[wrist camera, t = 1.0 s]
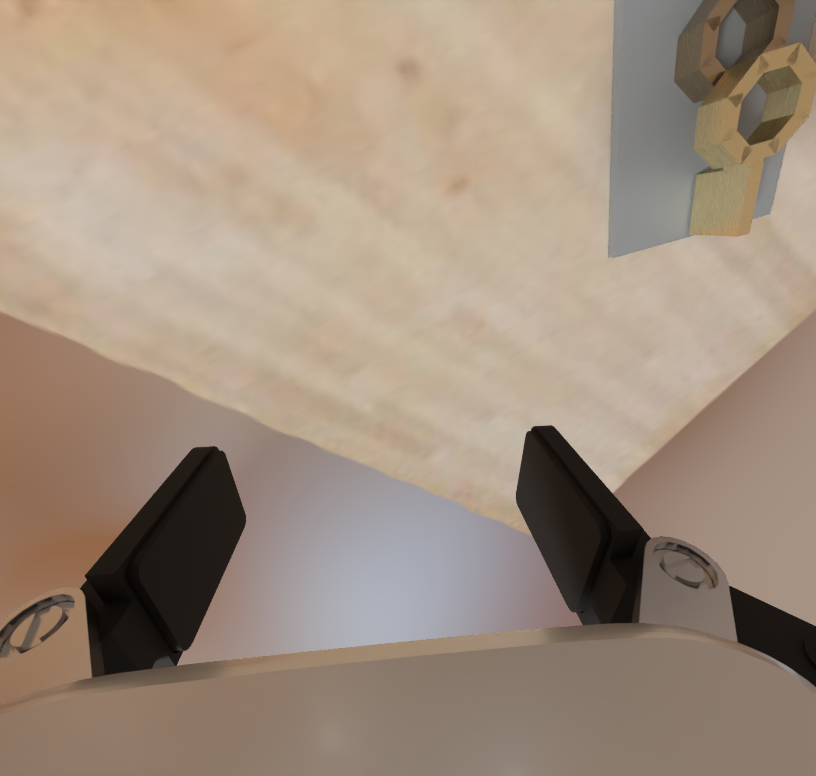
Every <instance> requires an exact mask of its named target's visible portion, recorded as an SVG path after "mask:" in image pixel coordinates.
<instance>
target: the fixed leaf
mask: <svg viewBox="0 0 816 776" xmlns="http://www.w3.org/2000/svg"><path fill="white" fill-rule="evenodd" d="M794 5H795V0H703V1H702V3H701V4H700V6H699V7H698V9H697V10H696V12H695V13H694V15H693V16H692V18H691V19H690V21H689V22H688V23H687V25H686V26H685V28H684V29H683V31H682V32H681V34H680V35H679V37H678V42H677V52H676V63H675V74H674V82H675V83H676V84H677V86H678V87H679V88H680V89H681V90H682V91H683V92H684V93H685V94H686V96H687V97H688V98H689V99H690V100H691V101H692V102H693V103H697V102H701V101H704V100H705V98H706V97H707V96H708V94H709V93H710V92H711V90H712V89H713V88H714V86H715V85H716V84H717V82H718V81H719V80H720V78H721V77H722V76H723V74H724V73H725V72H726V69H725V68H724V67H723V66H722V64H721V63H720V62H719V61H718V60H717V58H716V57H715V54H716V47H717V39H718V32H719V25H720V23H721V22H722V20H723V19H724V17H725V16H726V15H727V13H728V12H729V10H730V9H731V8H732V7H734V9H735V10H736V11H737V13H738V14H739V15H740V17H741V18H742V19H743V21H744V22H745V23H746V28H745V34H744V40H743V47H742V53H741V55H740V56H739V58H738V59H737V60H736V62H735V63H734V64H733V66H735V65H737V64H740V63H742V62H744V61H746V60H749V59H751V58H753V57H755V56H758V55H760V54H763V53H766V52H770V51H773V50H776V49H780V48H783V47H784V46H785V44H786V43H787V39H788V34H789V29H790V25H791V20H792V15H793V10H794ZM733 66H732V67H733Z"/></svg>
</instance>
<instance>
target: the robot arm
mask: <svg viewBox="0 0 816 776" xmlns="http://www.w3.org/2000/svg"><path fill="white" fill-rule="evenodd" d="M516 502H517V505H518V507H519V509H520V511H521V513H522V515H523V517H524V520H525V522H526V524H527V526H528V528H529V530H530V532H531V534H532V536H533V538H534V540H535V542H536V543H537V546H538V548H539V550H540V551H541V553H542V556H543V558H544V560H545V562H546V564H547V566H548V568H549V570H550V572H551V574H552V576H553V578H554V580H555V582H556V584H557V586H558V588H559V590H560V592H561V594H562V596H563V598H564V600H565V602H566V604H567V606H568V608H569V609H570V610H571V611H572V612H576V613H577V615H578V617H579V618H580V620H581V623H582V624H583V625H582V626H570V627H556V628H543V629H533V630H522V631H511V632H501V633H490V634H479V635H469V636H458V637H448V638H437V639H427V640H418V641H408V642H397V643H387V644H378V645H367V646H358V647H348V648H338V649H328V650H318V651H309V652H299V653H291V654H281V655H271V656H262V657H252V658H243V659H233V660H224V661H214V662H205V663H196V664H188V665H181V666H177V663H178V661H179V659H180V657H181V655H182V653H183V651H186V650H187V649H188V648H189V647H190V646H191V644H192V643H193V641H194V638H195V636H196V634H197V632H198V630H199V627H200V625H201V623H202V621H203V618H204V616H205V614H206V612H207V610H208V607H209V605H210V603H211V601H212V598H213V596H214V594H215V592H216V589H217V587H218V585H219V583H220V580H221V578H222V576H223V574H224V572H225V570H226V567H227V565H228V563H229V560H230V558H231V556H232V554H233V552H234V550H235V547H236V545H237V543H238V541H239V539H240V536H241V534H242V532H243V529H244V527H245V524H246V515H245V511H244V509H243V506H242V503H241V500H240V497H239V494H238V491H237V488H236V485H235V482H234V479H233V476H232V473H231V470H230V467H229V464H228V461H227V458H226V455H225V453H224V452H223V451H219V449H218V448H217V447H215V446H212V447H196V448H193V449H192V450H191V451H190V452H189V453H188V454H187V456H186V457H185V458H184V459H183V460H182V461H181V463H180V464H179V465H178V466H177V468H176V469H175V470H174V471H173V472H172V473H171V474H170V476H169V477H168V478H167V479H166V480H165V482H164V483H163V484H162V485H161V486H160V487H159V489H158V490H157V491H156V492H155V493H154V495H153V496H152V497H151V498H150V499H149V501H148V502H147V503H146V504H145V505H144V506H143V508H142V509H141V510H140V511H139V512H138V514H137V515H136V516H135V517H134V518H133V519H132V521H131V522H130V523H129V524H128V525H127V526H126V528H125V529H124V530H123V531H122V532H121V534H120V535H119V536H118V537H117V538H116V539H115V541H114V542H113V543H112V544H111V545H110V547H109V548H108V549H107V550H106V551H105V552H104V554H103V555H102V556H101V557H100V558H99V560H98V561H97V562H96V563H95V564H94V565H93V567H92V568H91V569H90V570H89V571H88V573H87V574H86V575H85V577H86V579H87V581H86V582H85V583H84V584H83V586H82V587H81V588H80V589H78V588H76V587H64V588H60V589H57V590H52V591H49V592H47V593H45V594H43V595H40V596H38V597H36V598H34V599H32V600H31V601H29V602H28V603H26V604H24V605H22V606H21V607H19V608H18V609H17V610H16V611H14V612H13V613H12V614H10V615H9V616H7V617H6V618H5V619H4V620H3V621H2V622H1V623H0V776H816V626H814V625H812V624H810V623H808V622H805V621H803V620H801V619H799V618H797V617H795V616H793V615H791V614H788V613H786V612H784V611H782V610H780V609H778V608H776V607H774V606H771V605H769V604H767V603H765V602H763V601H761V600H759V599H757V598H755V597H752V596H750V595H748V594H746V593H744V592H742V591H739V590H738V589H735V588H733V587H731V586H729V584H728V581H727V578H726V575H725V573H724V572H723V570H722V569H721V568H720V567H719V565H718V564H717V563H716V562H715V561H714V560H713V559H712V558H710V557H709V556H708V555H707V554H706V553H704V552H703V551H701V550H700V549H698V548H697V547H695V546H693V545H691V544H689V543H687V542H685V541H682V540H678V539H675V538H671V537H662V536H661V537H655V538H652V539H651V538H650V537H649V536H648V535H647V533H646V532H645V531H644V529H643V528H642V527H641V526H640V524H639V523H638V522H637V521H636V520H635V519H634V518H633V516H632V515H631V514H630V513H629V512H628V511H627V510H626V508H625V507H624V506H623V505H622V504H621V503H620V502H619V501H618V499H617V498H616V497H615V496H614V495H613V494H612V492H611V491H610V490H609V489H608V488H607V487H606V486H605V484H604V483H603V482H602V481H601V480H600V479H599V478H598V476H597V475H596V474H595V473H594V472H593V471H592V470H591V468H590V467H589V466H588V465H587V464H586V463H585V462H584V460H583V459H582V458H581V457H580V456H579V455H578V454H577V452H576V451H575V450H574V449H573V448H572V447H571V446H570V444H569V443H568V442H567V441H566V440H565V439H564V438H563V436H562V435H561V434H560V433H559V432H558V431H557V430H556V428H555V427H553V426H551V425H549V426H534V427H533V428H532V429H531V431H528V432H527V433H526V437H525V443H524V449H523V455H522V461H521V467H520V473H519V479H518V485H517V491H516Z"/></svg>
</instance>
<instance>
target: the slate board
mask: <svg viewBox="0 0 816 776" xmlns="http://www.w3.org/2000/svg"><path fill="white" fill-rule="evenodd" d="M702 1H703V0H615V9H614V49H613V88H612V127H611V166H610V206H609V245H608V257H614V258H615V257H618V256H622V255H625V254H629V253H633V252H636V251H640V250H643V249H647V248H650V247H654V246H658V245H661V244H665V243H668V242H672V241H675V240H679V239H682V238H686V237H690V236H693V235H689V229H690V222H691V214H692V206H693V199H694V191H695V183H696V175H698V174H701V173H705V172H708V171H714V170H721V169H723V168H717V169H712V168H711V167H710V166H709V165H708V164H707V163H706V162H705V161H704V159H703V158H702V157H701V156H700V155H699V154H698V153H697V152H696V151H695V150H694V149H693V147H694V139H695V131H696V123H697V115H698V108H699V106H700V105H701V104H702V102H703V101H701V102H697V103H693V102H692V101H691V100H690V99H689V98H688V97H687V96H686V94H685V93H684V92H683V91H682V90H681V89H680V88H679V87H678V86H677V84H676V83H675V82H674V74H675V63H676V52H677V42H678V37H679V35H680V34H681V32H682V31H683V29H684V28H685V26H686V25H687V23H688V22H689V21H690V19H691V18H692V16H693V15H694V13H695V12H696V10H697V9H698V7H699V6H700V4H701V3H702ZM815 16H816V0H795V5H794V10H793V15H792V20H791V25H790V29H789V34H788V39H787V43H786V44H785V46H784V47H786V46H789V45H793V44H796V43H799V42H801V43H802V44H803V46H804V47H805V49H806V50H807V51H808V46H809V42H810V38H811V33H812V29H813V24H814V20H815ZM745 28H746V23H745V22H744V21H743V19H742V18H741V17H740V15H739V14H738V13H737V11H736V10H735V9H734V7H732V8H731V9H730V10H729V12H728V13H727V15H726V16H725V17H724V19H723V20H722V22H721V23H720V25H719V32H718V39H717V47H716V54H715V57H716V58H717V60H718V61H719V62H720V63H721V64H722V66H723V67H724V68H725V69H726V70H727V69H728V68H731V67H732V66H733V64H734V63H735V62H736V60H737V59H738V58H739V56H740V55H741V53H742V47H743V40H744V34H745ZM766 97H767V94H766V93H765V92H764V90H763V89H762V88H761V87H760V85H759V84H758V83H757V82H756V83H755V85H754V86H753V87H752V89H751V90H750V91H749V92H748V94H747V95H746V96H745V97H744V99H743V100H742V103H741V109H740V114H739V120H738V126H737V131H738V133H739V134H740V135H741V136H742V137H743V138H744V139H745V141H747V139H748V138H749V137H750V136H751V134H752V133H753V132H754V131H755V130H756V128H757V127H758V126H759V125H760V124H761V122H762V117H763V112H764V107H765V102H766ZM785 146H786V143H785V145H784V146H783V147H782V148H781V149H780V150H779V152H778V153H777V154H776V155H772V156H769V157H765V158H764V160H763V163H764V165H763V170H762V175H761V180H760V184H759V189H758V194H757V199H756V204H755V208H754V213H753V218H752V219H754V218H757V217H761V216H764V215H768V214H770V212H771V207H772V203H773V199H774V194H775V190H776V186H777V181H778V177H779V173H780V168H781V164H782V160H783V155H784V151H785Z"/></svg>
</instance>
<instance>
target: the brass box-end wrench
mask: <svg viewBox="0 0 816 776" xmlns="http://www.w3.org/2000/svg"><path fill="white" fill-rule="evenodd" d="M756 82H757V83H758V84H759V85H760V87H761V88H762V89H763V90H764V92H765V93H766V94H767V97H766V102H765V107H764V112H763V117H762V122H761V124H760V125H759V126H758V127H757V128H756V130H755V131H754V132H753V133H752V134H751V136H750V137H749V138H748V139H747V141H745V139H744V138H743V137H742V136H741V135H740V134H739V133H738V131H737V126H738V120H739V114H740V109H741V103H742V100H743V99H744V97H745V96H746V95H747V94H748V92H749V91H750V90H751V89H752V87H753V86H754V85H755V83H756ZM815 89H816V63H815V61H814V60H813V59H812V57H811V56H810V54H809V53H808V52H807V50H806V49H805V47H804V46H803V44H802V43H801V42H799V43H796V44H793V45H789V46H786V47H783V48H780V49H776V50H773V51H770V52H766V53H763V54H760V55H758V56H755V57H753V58H751V59H749V60H746V61H744V62H742V63H740V64H737V65H735V66H733V67H731V68H728V69H727V70H726V72H725V73H724V74H723V76H722V77H721V78H720V80H719V81H718V82H717V84H716V85H715V86H714V88H713V89H712V90H711V92H710V93H709V94H708V96H707V97H706V98H705V100H704V101H703V102H702V104H701V105H700V106H699V108H698V115H697V123H696V131H695V139H694V147H693V149H694V150H695V151H696V152H697V153H698V154H699V155H700V156H701V157H702V158H703V159H704V161H705V162H706V163H707V164H708V165H709V166H710V167H711V168H712V169H717V168H723V169H721V170H714V171H708V172H705V173H701V174H698V175H696V183H695V191H694V199H693V206H692V214H691V222H690V229H689V235H709V236H736V237H737V236H741V235H745V234H748V233H749V232H750V228H751V223H752V218H753V213H754V208H755V204H756V199H757V194H758V189H759V184H760V180H761V175H762V170H763V165H764V163H763V160H764V158H765V157H769V156H772V155H776V154H777V153H778V152H779V150H780V149H781V148H782V147H783V146H784V145H785V143H786V142H787V141H788V140H789V139H790V138H791V137H792V135H793V134H794V133H795V132H796V131H797V130H798V128H799V127H800V126H801V125H802V124H803V123H804V122H805V120H806V119H807V118H808V117H809V113H810V109H811V105H812V101H813V97H814V93H815Z"/></svg>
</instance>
